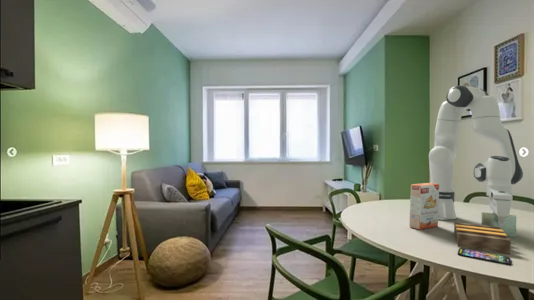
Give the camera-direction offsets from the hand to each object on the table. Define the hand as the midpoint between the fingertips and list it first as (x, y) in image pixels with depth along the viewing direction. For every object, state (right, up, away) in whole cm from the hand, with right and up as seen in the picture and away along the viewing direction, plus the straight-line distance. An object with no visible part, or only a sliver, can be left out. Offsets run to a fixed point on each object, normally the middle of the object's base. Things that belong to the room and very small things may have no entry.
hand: (498, 223), depth 130 cm
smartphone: (-26, -6, -26) cm, 38 cm away
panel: (0, -5, 0) cm, 5 cm away
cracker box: (-27, -5, +11) cm, 30 cm away
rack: (-17, -5, -11) cm, 21 cm away
